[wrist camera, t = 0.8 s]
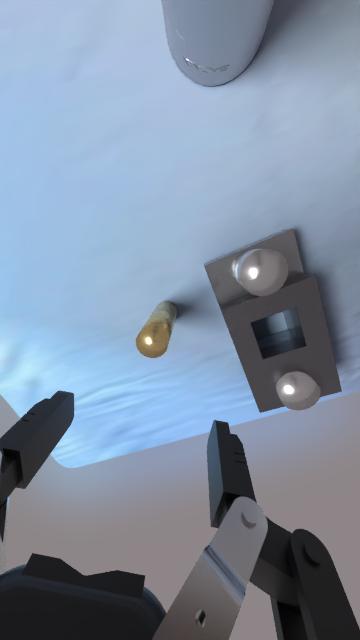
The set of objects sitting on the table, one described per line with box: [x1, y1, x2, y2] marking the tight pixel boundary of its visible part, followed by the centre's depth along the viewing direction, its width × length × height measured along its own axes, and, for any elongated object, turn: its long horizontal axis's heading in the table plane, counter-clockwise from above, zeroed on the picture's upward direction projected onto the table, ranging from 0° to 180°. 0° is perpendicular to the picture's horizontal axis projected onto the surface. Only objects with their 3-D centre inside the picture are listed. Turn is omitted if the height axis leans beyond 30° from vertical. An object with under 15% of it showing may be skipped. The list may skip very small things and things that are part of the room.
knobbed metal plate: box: [204, 228, 342, 413], centre depth 25 cm, size 20×10×6 cm, turn 23°
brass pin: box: [136, 302, 177, 358], centre depth 24 cm, size 3×3×10 cm
